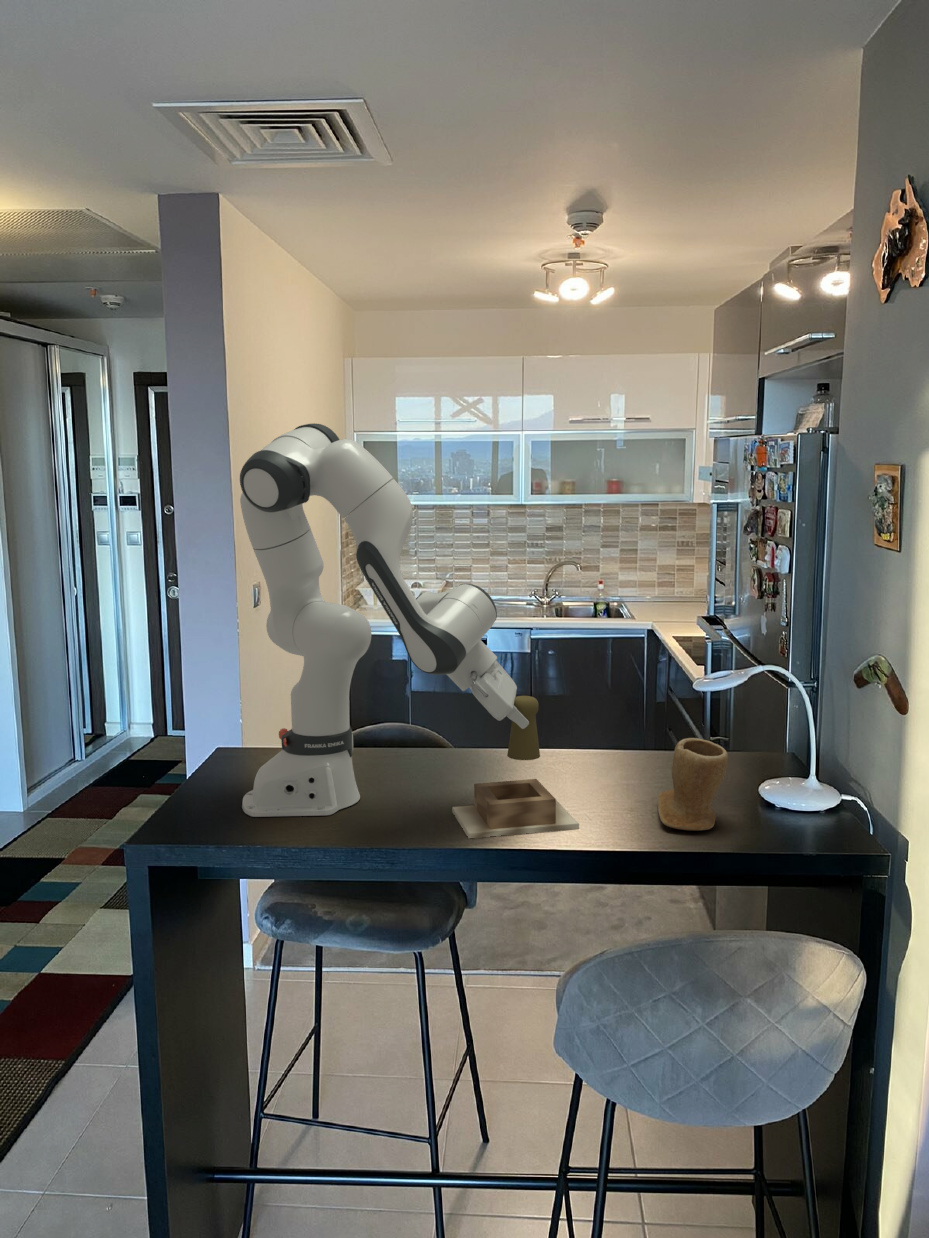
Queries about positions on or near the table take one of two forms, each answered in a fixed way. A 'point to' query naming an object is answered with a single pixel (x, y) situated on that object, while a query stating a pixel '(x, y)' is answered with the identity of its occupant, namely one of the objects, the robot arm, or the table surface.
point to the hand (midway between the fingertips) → (527, 722)
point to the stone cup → (693, 785)
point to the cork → (525, 731)
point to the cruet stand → (512, 810)
